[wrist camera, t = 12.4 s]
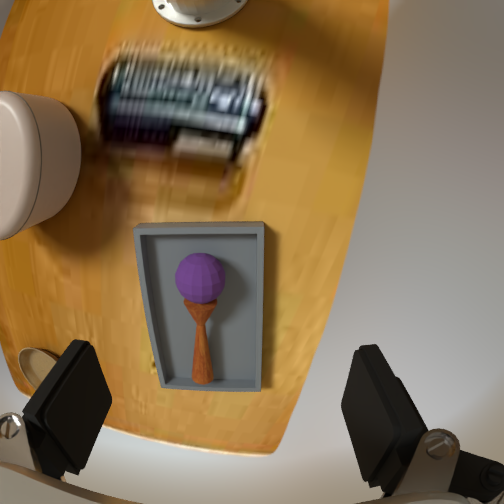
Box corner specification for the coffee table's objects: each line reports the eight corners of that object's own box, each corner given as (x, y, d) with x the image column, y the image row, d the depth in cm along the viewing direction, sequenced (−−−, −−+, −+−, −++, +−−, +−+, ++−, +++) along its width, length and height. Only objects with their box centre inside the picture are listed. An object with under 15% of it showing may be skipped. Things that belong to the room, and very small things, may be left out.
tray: (140, 223, 37) (133, 228, 34) (263, 221, 37) (264, 226, 34) (164, 377, 45) (161, 387, 43) (260, 380, 45) (260, 391, 43)
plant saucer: (54, 400, 49) (49, 407, 47) (13, 347, 45) (7, 354, 42) (96, 393, 47) (91, 402, 45) (51, 333, 43) (44, 341, 40)
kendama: (177, 385, 40) (165, 261, 32) (190, 359, 45) (185, 242, 37) (216, 395, 39) (218, 270, 31) (226, 367, 44) (232, 248, 36)
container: (-7, 130, 31) (-58, 134, 20) (74, 76, 30) (22, 60, 19) (17, 233, 37) (-31, 258, 26) (101, 197, 35) (52, 218, 24)
